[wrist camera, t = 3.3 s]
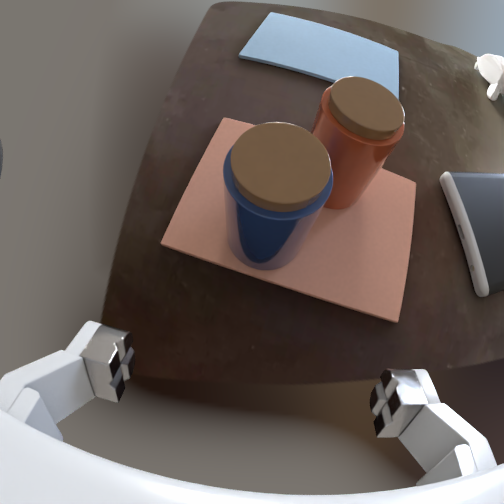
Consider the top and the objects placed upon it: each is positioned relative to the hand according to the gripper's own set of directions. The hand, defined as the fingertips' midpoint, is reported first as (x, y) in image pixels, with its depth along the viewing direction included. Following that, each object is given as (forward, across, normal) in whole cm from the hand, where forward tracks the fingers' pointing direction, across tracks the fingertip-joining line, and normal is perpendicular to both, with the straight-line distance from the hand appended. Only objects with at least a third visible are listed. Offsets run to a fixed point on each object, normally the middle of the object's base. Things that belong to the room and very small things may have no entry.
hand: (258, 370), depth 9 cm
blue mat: (+37, -5, -17) cm, 41 cm away
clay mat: (+19, -3, 0) cm, 19 cm away
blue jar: (+16, 0, +2) cm, 17 cm away
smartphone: (+22, -32, -3) cm, 39 cm away
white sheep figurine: (+41, -37, -22) cm, 60 cm away
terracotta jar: (+21, -5, -2) cm, 22 cm away
